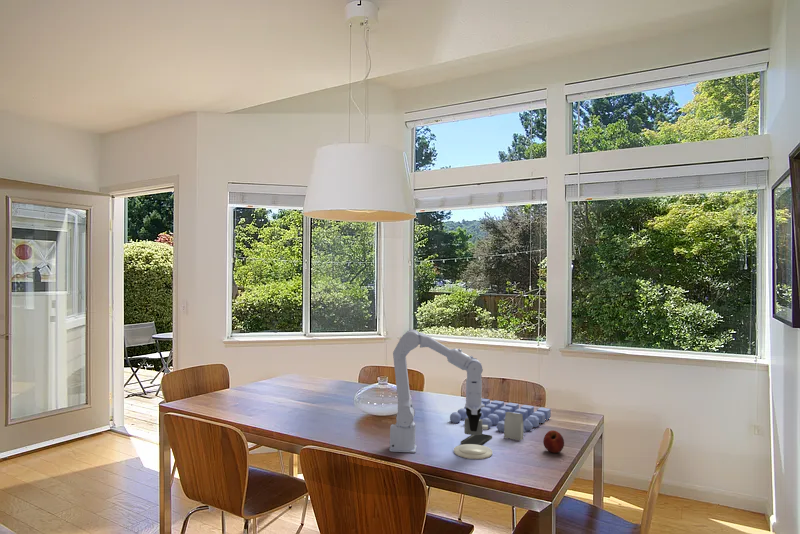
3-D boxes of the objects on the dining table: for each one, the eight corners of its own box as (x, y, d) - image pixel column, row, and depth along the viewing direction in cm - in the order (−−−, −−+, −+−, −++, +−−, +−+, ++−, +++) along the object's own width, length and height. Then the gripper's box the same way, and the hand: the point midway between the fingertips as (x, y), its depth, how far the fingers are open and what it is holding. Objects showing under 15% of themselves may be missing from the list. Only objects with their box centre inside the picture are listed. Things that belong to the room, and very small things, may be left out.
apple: (540, 452, 190) (540, 431, 190) (547, 447, 196) (547, 426, 196) (560, 457, 186) (560, 434, 186) (566, 451, 192) (566, 429, 192)
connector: (464, 434, 188) (464, 420, 188) (464, 431, 191) (464, 418, 191) (487, 435, 187) (488, 421, 187) (487, 432, 190) (487, 419, 190)
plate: (453, 458, 183) (453, 454, 183) (453, 445, 197) (453, 442, 197) (493, 460, 181) (493, 456, 181) (490, 447, 195) (490, 444, 195)
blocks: (550, 419, 237) (550, 408, 237) (523, 438, 208) (524, 426, 209) (481, 407, 257) (481, 398, 257) (447, 423, 228) (447, 412, 228)
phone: (459, 442, 198) (475, 432, 211) (459, 445, 198) (475, 435, 211) (478, 445, 194) (493, 435, 207) (478, 448, 194) (493, 438, 207)
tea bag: (520, 440, 204) (521, 415, 204) (504, 437, 207) (504, 412, 207) (523, 438, 207) (523, 413, 207) (506, 435, 210) (507, 410, 211)
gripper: (486, 397, 182) (485, 435, 181) (483, 388, 196) (483, 424, 196) (465, 396, 182) (465, 435, 182) (464, 387, 197) (464, 423, 197)
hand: (473, 429), depth 189 cm, fingers closed on connector, 3 cm apart
